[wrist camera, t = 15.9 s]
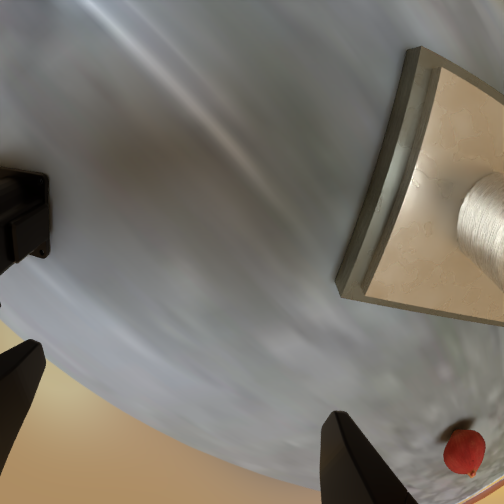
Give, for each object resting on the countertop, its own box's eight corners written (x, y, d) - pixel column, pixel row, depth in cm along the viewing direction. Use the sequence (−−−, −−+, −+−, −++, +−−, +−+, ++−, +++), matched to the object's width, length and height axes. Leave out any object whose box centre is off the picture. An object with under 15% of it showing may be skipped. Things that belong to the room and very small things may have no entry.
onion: (481, 414, 30) (503, 459, 23) (460, 439, 32) (477, 481, 25) (450, 420, 30) (470, 470, 23) (429, 445, 32) (445, 492, 25)
